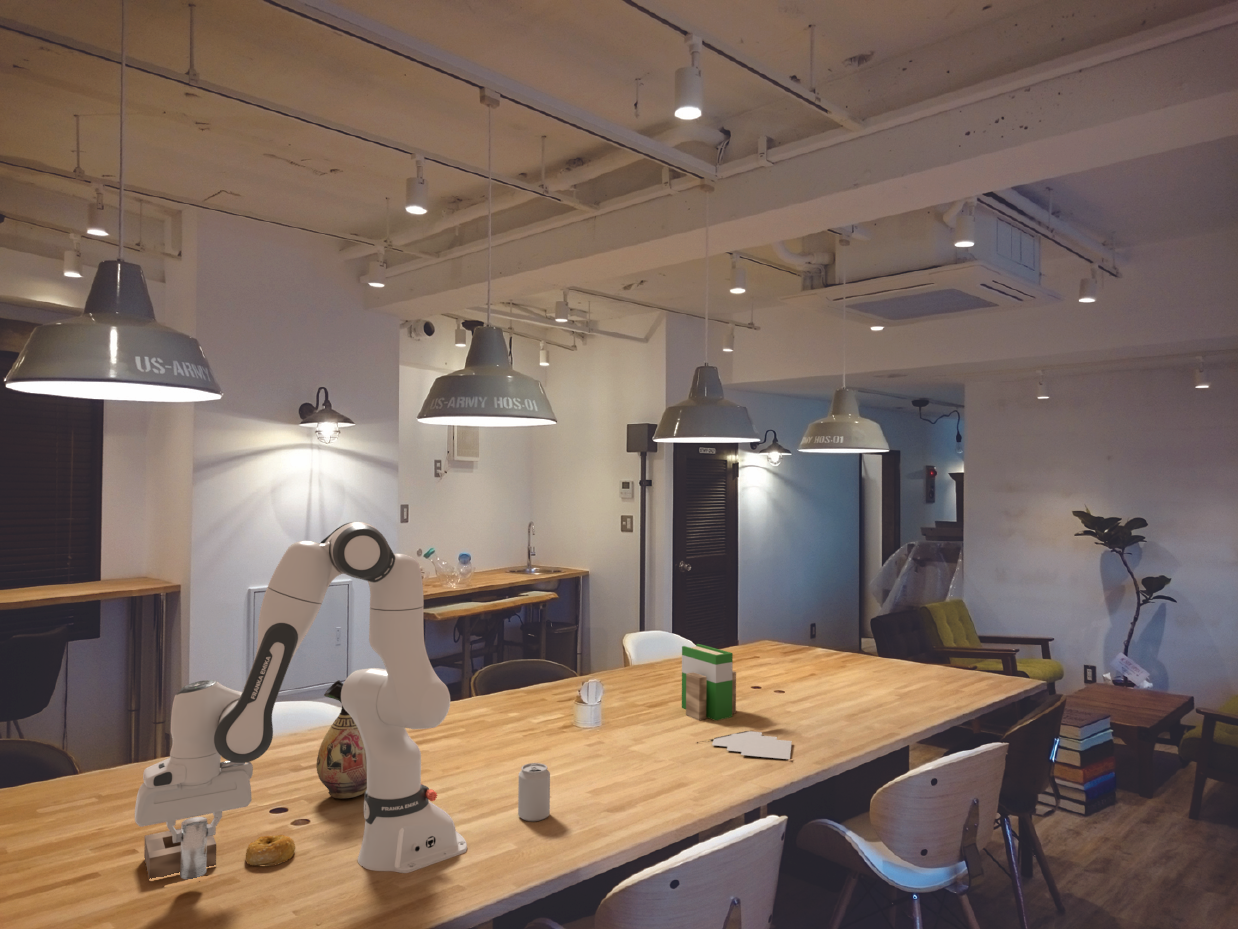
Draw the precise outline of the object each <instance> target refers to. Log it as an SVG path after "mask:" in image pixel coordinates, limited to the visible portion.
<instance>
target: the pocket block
mask: <svg viewBox="0 0 1238 929" xmlns="http://www.w3.org/2000/svg"><path fill="white" fill-rule="evenodd" d="M208 824H209V822H207V825H208ZM175 829H176V831H177V830H181V828H175ZM143 854H144V858H145V860H144V863H145V862H146V865H145V867H146V866H147V870H146V872H147V871H148V874H147V876H148V875H149V879H150V878H151V879H152V878H156V877H164V876H167V875H171V874H174V873H179V872H180V868H181V842H177V843H173V840H172V833H171V832H170V830H167V831H162V832H155V833H150V834H145V835H144V853H143ZM144 858H143V859H144ZM214 865H216V866H217V842H216V839H215V837H214V835H212V836H207V863H206V867H209V866H214ZM149 879H148V880H149Z"/></svg>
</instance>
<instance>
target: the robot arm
mask: <svg viewBox="0 0 1238 929" xmlns="http://www.w3.org/2000/svg"><path fill="white" fill-rule="evenodd" d="M343 574H344V575H347V576H349V577H351V578H355V579H358V580H363V581H366V582H368V585H369V586H368V588H369V591H370V592H369V593H370V594H369V596H370V598H369V624H368V626H369V630H368V633H369V634H368V640H369V641H368V642H369V645H370V647H371V649H372V650H373V651H374V652H375V653H376V654H377V655H378V656H379V657H380V659H381V661H382V663H383V664H384V668H380V667H379V668H378V667H371V668H362V669H361V668H360V669H357V670H354V671H353V672H352V673H350V674H349V675H348V676H347V677H346V678H345V680H344V682H343V687H342V690H341V702H342V703H341V702H340V703H341V707H342V706H343V708H344V709H345V710H346V711H347V712H348V714H349V715H350V716H351V717H352V719H353V720H354V722H355V724H356V726H357V728H358V730H359V732H360V735H361V738H362V741H363V744H364V748H365V753H366V762H367V790H366V791H365V793H364V800H363V816H364V817H363V818H364V820H365V821H364V830H363V836H362V842H361V847H360V849H359V854H358V856H357V862H358V864H359V865H360V866H361V867H362V866H363V867H362V868H364V869H366V870H370V871H376V872H397V873H399V874H408V873H412V872H414V871H418V870H421V869H423V868H425V867H428V866H432V865H434V864H436V863H440V862H442V861H445V860H449V859H451V858H454V857H456V856H459V855H462V854H465V853H466V852H467V850H468V844H467V841H466V839H465V838H464V836H462V834H460V833H459V832H458V831H457V829H456V825H455V821H454V819H453V818H452V817H451V815H449V813H448V812H446V811H445V810H444V809H443V808H441V807H439V806H437V805H436V804H434V803H433V802H434V801H436V800H437V798H438V794H437V792H436V791H435V790H434V789H432V788H429V786H427V785H425V784H423V783H422V782H421V781H422V752H421V750H420V747H419V745H418V744H417V743H416V742H415V740H413V739H412V738H411V737H410V735H409V733H408V732H407V729H409V730H426V729H435V728H436V727H438V726H439V725H441V724H442V723H443V722H444V721H445V719H446V717H447V715H448V714H449V710H450V706H451V694H450V691H449V688H448V686H447V685H446V684H445V683H444V682H443V681H442V680H441V679H440V678H439V676H438V675H437V673H436V672H435V670H434V668H433V666H432V664H431V662H430V659H429V656H428V653H427V649H426V643H425V635H424V633H425V632H424V630H425V629H424V628H425V627H424V605H425V604H424V585H423V578H422V571H421V566H420V564H419V562H418V560H417V559H415V557H413V556H410V555H409V554H405V553H394V552H393V550H392V549H391V547H390V544H389V543H388V541H387V539H386V537H385V536H384V535H383V534H382V532H380V530H378V528H376V527H375V526H373V525H371V524H369V523H367V522H362V521H351V522H346V523H344V524H342V525H340V526H339V527H337V528H336V529H335V530H333V531H332V532H331V533H330V534H329V535H327V536H326V537H325V538H324V539H322V540H321V542H320V543H319V542H316V541H312V540H300V541H296V542H294V543H292V544H291V545H290V546H288V548H287V549H286V551H285V552H284V554H283V556H281V559H280V560H279V562H278V564H277V566H276V568H275V569H274V571H273V574H272V575H271V578H270V580H269V582H268V584H267V587H266V590H265V593H264V595H263V598H262V602H261V607H260V611H259V616H258V624H257V625H258V626H257V627H258V628H257V630H258V631H257V645H256V646H257V647H256V651H255V656H254V659H253V663H252V666H251V669H250V671H249V674H248V676H247V679H246V682H245V684H244V686H243V689H242V691H240V690H235V689H232V688H229V687H227V686H225V685H223V684H221V683H220V682H218V681H217V680H214V679H204V680H199V681H194V682H192V683H189V684H187V685H184V686H183V687H182V688H180V689H179V690H178V692H177V693H176V694H175V695H174V698H173V700H172V701H173V702H172V707H171V715H170V716H171V717H170V735H171V738H172V746H171V749H170V752H169V757H168V758H166V759H163V760H161V761H158V762H157V763H154V764H152V765H150V766H148V767H146V768H144V770H143V773H142V774H143V776H142V778H143V783H141V785H140V786H139V789H138V791H137V795H136V798H135V799H136V801H135V808H134V822H135V823H136V825H137V826H138V827H140V828H141V827H146V826H147V827H148V826H154V825H157V824H162V823H165V824H166V828H167V829H168V831H170V832H171V833H172V840H173V843H177V842H181V841H182V838H181V837H182V832H181V830H177V831H176V829H177V828H175V826H176V821H179V820H186V819H189V818H193V817H202V816H204V815H210V814H212V815H213V819H212V821H211V822H210V823H208V825H207V836H212V835H213V836H215V835H216V829H217V828H216V827H217V826H218V824H219V822H220V821H221V819H222V818H223V812H228V811H230V810H236V809H241V808H243V809H244V808H247V807H248V806H249V805H250V803H251V802H252V800H253V798H252V787H251V786H252V785H251V778H252V776H253V774H254V772H253V770H254V766H253V764H252V762H253V761H255V760H257V759H259V758H260V757H261V756H263V755H264V754H265V753H266V752H267V750H268V749H269V748H270V746H271V744H272V741H273V737H274V727H273V711H274V709H275V708H274V707H275V704H276V702H277V698H278V696H279V693H280V690H281V687H282V684H283V682H284V679H285V677H286V675H287V671H288V669H289V666H290V664H291V662H292V660H293V658H294V656H295V654H296V653H297V651H298V650H299V647H300V646H301V644H302V642H303V641H304V639H305V637H306V636H307V634H308V633H309V631H310V630H311V628H312V626H313V624H314V622H315V620H316V618H317V616H318V613H319V611H320V610H321V606H322V605H323V602H324V599H325V596H326V594H327V591H328V588H329V587H330V585H331V583H332V582H333V581H334V580H335V579H337V577H339V576H341V575H343ZM221 758H223V759H224V760H226V761H221Z"/></svg>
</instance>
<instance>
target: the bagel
mask: <svg viewBox="0 0 1238 929" xmlns="http://www.w3.org/2000/svg"><path fill="white" fill-rule="evenodd" d="M295 850H296V844H295V841H294V839H293V838H291V837H290V836H286V835H284V834H279V835H278V834H277V835H265V836H264V835H262V836H258V838H257V839H255V840H254V841H253V842H250V843H249V844H248V846H247V848H246V852H245V862H246V863H247V865H249V864H250V866H253V865H273V866H276V865H275V864H277V865H279V864H278V863H280V864H282V863H281V862H283V863H285V862H287V861H289V860H291V858H292V857H293V856H294V854H295ZM288 859H289V860H288ZM286 860H287V861H286ZM284 861H285V862H284Z"/></svg>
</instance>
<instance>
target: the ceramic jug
mask: <svg viewBox="0 0 1238 929" xmlns="http://www.w3.org/2000/svg"><path fill="white" fill-rule="evenodd" d="M343 684H344V682H342V681H341V680H340V679H339V680H338V679H337V680H336V681H335V682H334V683H333V684H332V685H331V686H330V687H328V689H326V691H325V692H324V695H323V696H324V697H326V698H328V699H329V698H330V699H333V700H336V701H338V702H340V704H342V702H341V690H342V687H343ZM316 772H317V775H318V779H319V780H320V782H321V783H322V785H323V786H324V787H326V788H327V790H328V794H329V796H330V797H332V798H335V799H351V798H355V797H359V796H361V795H363V794H365V791H366V790H367V762H366V753H365V748H364V744H363V741H362V738H361V735H360V732H359V730H358V728H357V726H356V724H355V722H354V720H353V719H352V717H351V716H350V715H349V714H348V712H347V711H346V710H345V709H344V708H343V706H342V705H341V709H340V712H339V714H338V716H337V717H336V718H335V720H334V721H333V723H332V724H331V726H330V727H329V729H328V731H327V732H326V733H325V735H324V737H323V739H322V741H321V743H320V746H319V750H318V754H317V758H316Z"/></svg>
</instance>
